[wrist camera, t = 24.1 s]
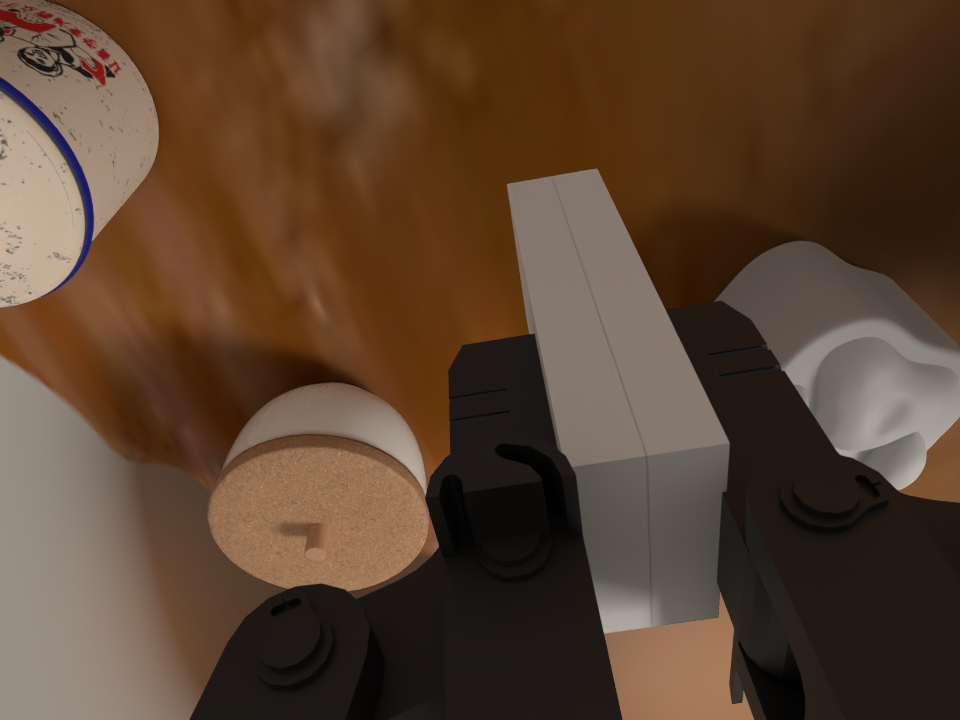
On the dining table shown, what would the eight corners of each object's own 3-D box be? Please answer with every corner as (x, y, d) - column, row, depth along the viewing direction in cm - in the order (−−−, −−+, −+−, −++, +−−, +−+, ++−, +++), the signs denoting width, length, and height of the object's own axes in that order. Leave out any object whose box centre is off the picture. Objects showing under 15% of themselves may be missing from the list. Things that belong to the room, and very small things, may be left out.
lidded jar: (201, 393, 40) (146, 525, 32) (369, 318, 37) (352, 441, 30) (310, 509, 46) (285, 643, 38) (461, 450, 43) (466, 581, 36)
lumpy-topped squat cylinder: (926, 294, 38) (1035, 397, 31) (771, 457, 45) (832, 571, 38) (772, 221, 35) (855, 317, 28) (631, 408, 42) (670, 522, 35)
